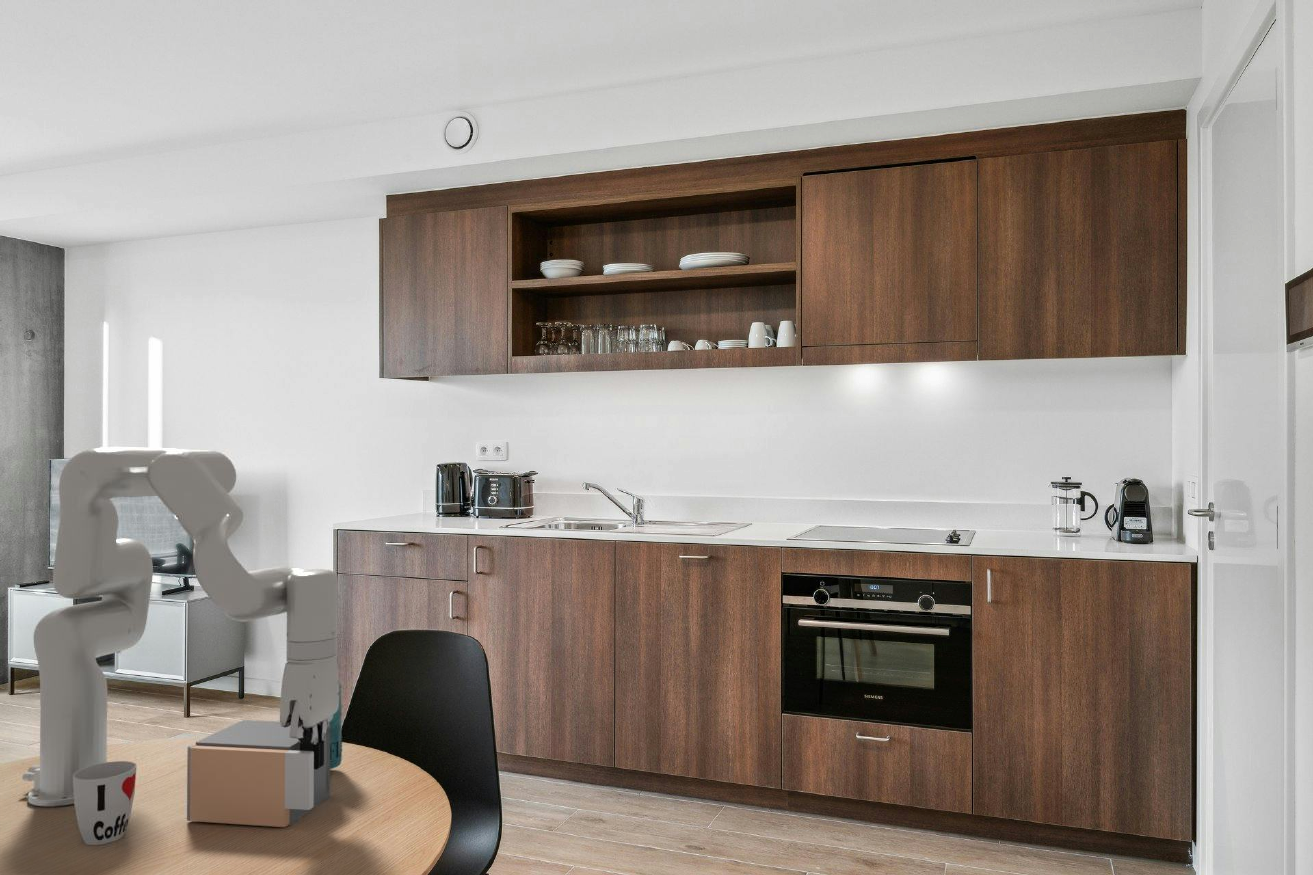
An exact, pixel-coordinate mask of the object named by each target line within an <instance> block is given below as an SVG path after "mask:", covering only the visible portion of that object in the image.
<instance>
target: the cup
mask: <svg viewBox="0 0 1313 875" xmlns="http://www.w3.org/2000/svg"><path fill="white" fill-rule="evenodd" d="M136 776H137V763H136V762H133V761H126V760H124V761H123V760H122V761H121V760H120V761H116V760H115V761H108V762H107V763H101V764H96V765H92V766H89V767H86V768H83V769H80V770H78V771H77V772H75V773H74V774H73V790H74V804H73V805H74V809H75V814H76V819H77V826H78V828H79V831H80V835H81V836H82V838H83V842H84V844H85V845H88V846H98V845H106V844H109V843H113V842H116V841H118V840H120V839H121V838H123V837H124V835H125V834H126V831H127V827H128V825H129V821H130V819H131V814H132V808H133V803H134V797H135V794H136V793H135V792H136V791H135V790H136Z"/></svg>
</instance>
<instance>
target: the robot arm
mask: <svg viewBox="0 0 1313 875" xmlns="http://www.w3.org/2000/svg"><path fill="white" fill-rule="evenodd" d="M236 482H237V470H236V467H235V465H234V464H233V462H232V460H230V459H229V458H228V456H226V455H225V454H223V453H222V452H219V451H216V450H211V449H210V450H209V449H207V450H205V449H178V448H168V447H167V448H164V447H132V446H131V447H129V446H125V447H124V446H109V447H108V446H107V447H105V446H103V447H95V448H90V449H87V450H83V451H81V452H79V453H77V454H75V455H73V456H71V458H70V459H69V460H68V462H66V464H65V465H64V467H63V469H62V470H61V474H60V477H59V483H58V494H59V506H60V508H59V513H60V515H59V524H58V530H57V537H56V546H55V553H54V561H53V562H54V563H53V571H52V584H53V589H54V590H55V592H57V593H58V595H60V597H61V596H62V597H64V598H66V599H72V600H78V599H87V598H95V597H101V596H102V597H101V600H97V601H91V602H85V603H84V602H83V603H80V604H79V603H78V604H73V605H68V606H64V607H61V608H58V609H55V610H53V611H50V612H49V613H47V614H46V615H44V616H43V617H42V618H40V620H39V621H38V623H37V624H36V625H35V628H34V632H33V646H34V651H35V655H36V660H37V664H38V665H37V666H38V672H39V688H40V689H39V690H40V696H39V702H40V703H39V704H40V709H39V710H40V716H39V717H40V719H39V720H40V723H39V724H40V725H39V726H40V728H39V733H40V734H39V764H32V765H30V766H29V768H28V769H27V771H25V772H24V773H23V775H22V781H25V782H27V781H28V782H34V783H33V788H32V789H31V790H30V791H29V792H28V794H27V802H28V803H29V804H30V805H33V806H37V807H60V806H69V805H74V790H73V774H74V773H75V772H77V771H78V770H80V769H83V768H86V767H89V766H92V765H96V764H101V763H107V759H108V756H107V755H108V753H107V752H108V748H107V747H108V683H107V682H108V681H107V678H106V676H105V674H104V672H103V670H102V669H101V668H100V665H99V664H98V662H97V658H100V657H103V656H107V655H111V654H115V653H119V652H122V651H126V650H128V649H131V648H133V647H134V646H136V644H138V642H139V641H140V640H141V638H142V637H143V635H144V632H145V630H146V626H147V620H148V614H149V607H150V598H151V591H152V584H153V575H154V566H153V564H154V563H153V559H152V556H151V553H150V552H149V549H147V547H146V545H144V544H143V543H142V542H140V541H138V540H136V539H133V538H125V537H124V538H117V537H118V529H119V515H118V512H117V509H116V506H115V505H114V502H113V501H112V500H111V499H116V498H139V497H158V499H160V501H161V502H162V504H163V505H164V507H165V508H166V509H167V510H168V511H169V512H170V514H171V515H172V516H173V517H174V518H175V519H176V521H177V522H178V523H179V525H180V526H181V527H182V528H183V530H184V531H185V532H186V533H187V535H188V536H189V537H190V539H191V540H192V541H193V544H194V545H193V551H192V560H193V567H194V568H193V569H194V573H195V574H194V575H195V577H196V579H197V582H198V584H199V586H200V587H201V588H202V590H203V591H204V593H205V594H206V596H208V597H209V599H210V600H211V601H212V603H213V604H214V605H215V606H216V607H217V609H218V610H220V612H221V613H222V614H224V615H225V616H227V618H229V619H231V620H233V621H237V622H243V623H244V622H245V623H246V622H252V621H256V620H260V619H263V618H268V617H271V616H278V615H281V614H285V613H286V662H285V664H284V669H283V672H282V673H283V674H282V681H281V692H280V701H279V702H280V705H279V722H280V725H281V727H288V726H290V734H289V737H290V738H298V743H299V744H300V751H314V769H319V768H320V767H322V766H323V765H324V739H325V738H326V729H327V725H328V723H329V722H330V721H331V720H332V719H333V714H335V713H336V712H337V710H338V707H339V683H340V679H339V678H340V677H339V666H338V660H337V658H338V657H339V656H338V655H339V653H338V652H339V650H338V649H339V648H338V646H339V644H338V643H339V642H338V638H339V637H338V634H339V632H338V631H339V628H338V627H339V622H338V621H339V580H338V575H337V574H336V572H334V571H333V570H330V569H322V568H320V569H319V568H316V569H303V568H297V567H294V566H285V565H283V566H274V567H268V568H261V569H255V570H248V571H247V569H245V567H244V566H243V565H242V564H241V563H240V561H239V560H238V559H237V557H235V555H234V554H233V552H232V550H231V548H230V546H229V543H228V539H229V538H230V537H232V535H233V534H234V533H235V532H237V530H238V529H239V527H240V526H241V524H242V523H243V520H244V513H243V510H242V508H241V507H240V506H239V505H238V504H237V503H236V501H235V500H234V499H233V498H232V496H231V495H230V494H229V493H231V491H233V489H234V487H235V485H236Z"/></svg>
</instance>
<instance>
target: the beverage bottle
mask: <svg viewBox="0 0 1313 875" xmlns="http://www.w3.org/2000/svg"><path fill="white" fill-rule="evenodd" d="M342 708H343V703H342V683H340V682H339V707H338V710H337V712H336V713H335V714H333V719H332V720H331V721H330V722H329V723H328V724H330V770H331V769H332V770H333V769H335V768H338V767H339V766H340V765H341V763H342V759H343V754H342V753H343V738H342V734H343V733H342V730H343V728H342V718H343V716H342V715H343V714H342V713H343V712H342V711H343V709H342Z"/></svg>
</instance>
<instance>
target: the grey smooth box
mask: <svg viewBox="0 0 1313 875" xmlns="http://www.w3.org/2000/svg"><path fill="white" fill-rule="evenodd" d="M289 734H290V726H288V727H281V725H280V721H272V720H271V721H270V720H251V719H250V720H249V719H248V720H247V719H242V720H240V721H238V722H237V723H234V724H231V725H229V726H227V727H225V728H223V729H221V730H218V731H216V732H215V733H213V734H210V735H208V736H206V737H204V738H202V739H200V740H198V741H196V742H195V746H214V747H234V748H255V749H275V750H295V751H300V744H299V743H298V738H290V737H289ZM330 797H331V769H330V724H328V725H327V729H326V738H325V739H324V765H323V766H322V767H320V768H319V769H314V807H313V808H311V809H310V810H302V809H289V824H288V825H287V826H291V825H292V824H294V823H295V822H297V821H299V819H300V818H302V817H303V816H305V815H306V814H308V812H310V811H312V810H313V809H314V808H316V807H317V806H319V805H321V804H322V803H323V802H324V801H325V800H327V799H328V798H330ZM287 826H286V827H287Z"/></svg>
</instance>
